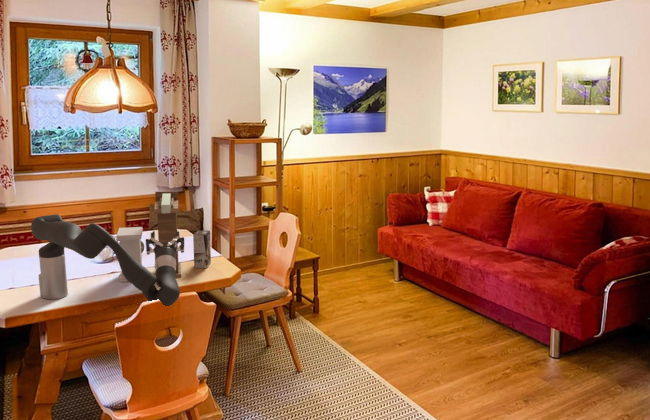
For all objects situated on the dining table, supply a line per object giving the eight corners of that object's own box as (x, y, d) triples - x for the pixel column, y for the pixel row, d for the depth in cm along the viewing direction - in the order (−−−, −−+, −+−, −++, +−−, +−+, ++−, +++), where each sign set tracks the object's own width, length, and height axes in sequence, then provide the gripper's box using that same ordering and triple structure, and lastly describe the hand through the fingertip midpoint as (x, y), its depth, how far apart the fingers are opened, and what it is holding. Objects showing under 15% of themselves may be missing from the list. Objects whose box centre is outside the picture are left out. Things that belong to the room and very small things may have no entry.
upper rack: (181, 278, 256) (177, 199, 249) (157, 280, 254) (153, 199, 246) (180, 265, 275) (177, 190, 268) (158, 266, 273) (155, 191, 265)
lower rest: (143, 281, 253) (140, 234, 248) (119, 282, 250) (116, 235, 246) (144, 271, 266) (142, 226, 261) (122, 272, 263) (119, 227, 259)
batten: (170, 213, 240) (169, 204, 240) (161, 213, 240) (161, 205, 239) (170, 200, 265) (170, 193, 264) (162, 201, 264) (162, 193, 263)
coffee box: (207, 268, 272) (206, 235, 268) (193, 268, 272) (192, 234, 268) (211, 262, 281) (210, 230, 277) (198, 262, 281) (197, 229, 277)
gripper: (185, 254, 213) (183, 224, 224) (144, 256, 209) (145, 226, 221) (185, 268, 218) (184, 238, 229) (146, 270, 214) (146, 239, 226)
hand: (165, 232), depth 225 cm, fingers open, 8 cm apart
